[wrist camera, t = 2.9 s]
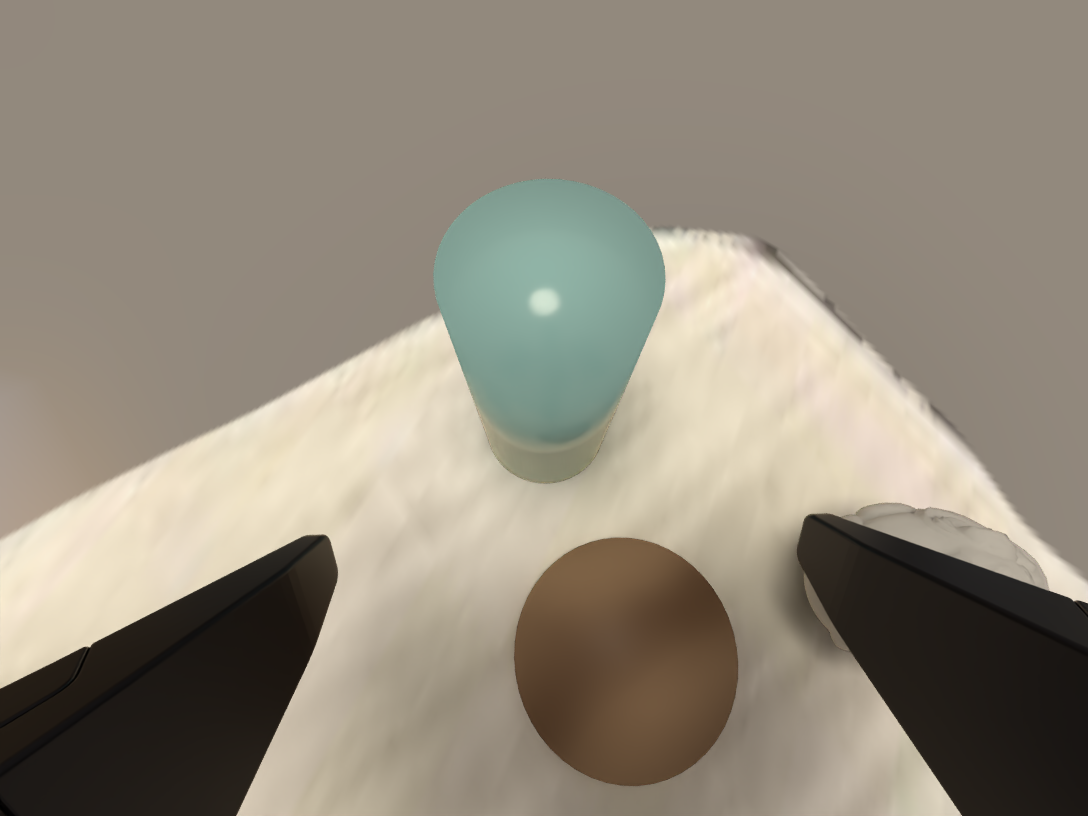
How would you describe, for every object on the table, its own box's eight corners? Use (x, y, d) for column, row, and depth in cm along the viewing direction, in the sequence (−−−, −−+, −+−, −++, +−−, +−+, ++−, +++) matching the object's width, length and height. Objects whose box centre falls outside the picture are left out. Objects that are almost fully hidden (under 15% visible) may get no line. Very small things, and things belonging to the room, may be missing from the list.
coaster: (775, 643, 21) (781, 645, 20) (639, 839, 19) (642, 847, 18) (610, 496, 23) (612, 494, 22) (469, 657, 20) (467, 660, 20)
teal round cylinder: (627, 422, 24) (711, 265, 12) (549, 508, 23) (557, 426, 11) (542, 350, 25) (543, 144, 13) (462, 428, 24) (385, 275, 12)
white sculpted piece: (948, 655, 21) (1139, 689, 14) (784, 672, 20) (901, 715, 14) (901, 508, 23) (1049, 478, 16) (751, 522, 22) (839, 497, 16)
